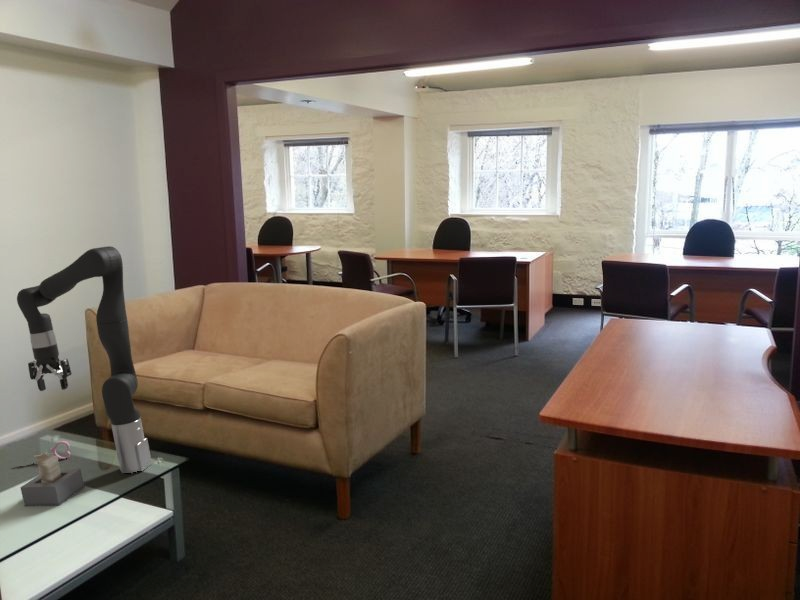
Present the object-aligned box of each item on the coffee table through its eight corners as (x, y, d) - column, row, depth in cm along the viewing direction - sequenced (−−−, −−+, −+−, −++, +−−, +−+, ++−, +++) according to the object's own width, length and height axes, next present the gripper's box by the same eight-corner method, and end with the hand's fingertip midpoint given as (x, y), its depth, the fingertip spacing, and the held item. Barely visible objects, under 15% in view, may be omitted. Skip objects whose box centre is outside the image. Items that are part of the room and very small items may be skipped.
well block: (84, 487, 206) (80, 468, 205) (59, 505, 194) (55, 486, 193) (51, 487, 208) (47, 469, 207) (24, 506, 196) (20, 487, 195)
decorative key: (17, 474, 231) (73, 455, 234) (16, 475, 229) (72, 457, 233) (10, 457, 229) (67, 439, 232) (8, 458, 228) (66, 440, 231)
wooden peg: (64, 491, 202) (57, 455, 200) (56, 497, 199) (48, 461, 197) (53, 491, 203) (46, 456, 201) (44, 497, 199) (36, 461, 197)
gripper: (70, 340, 220) (79, 385, 223) (33, 342, 223) (43, 387, 226) (55, 345, 213) (64, 392, 216) (17, 348, 215) (27, 394, 218)
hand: (53, 389), depth 221 cm, fingers open, 8 cm apart
